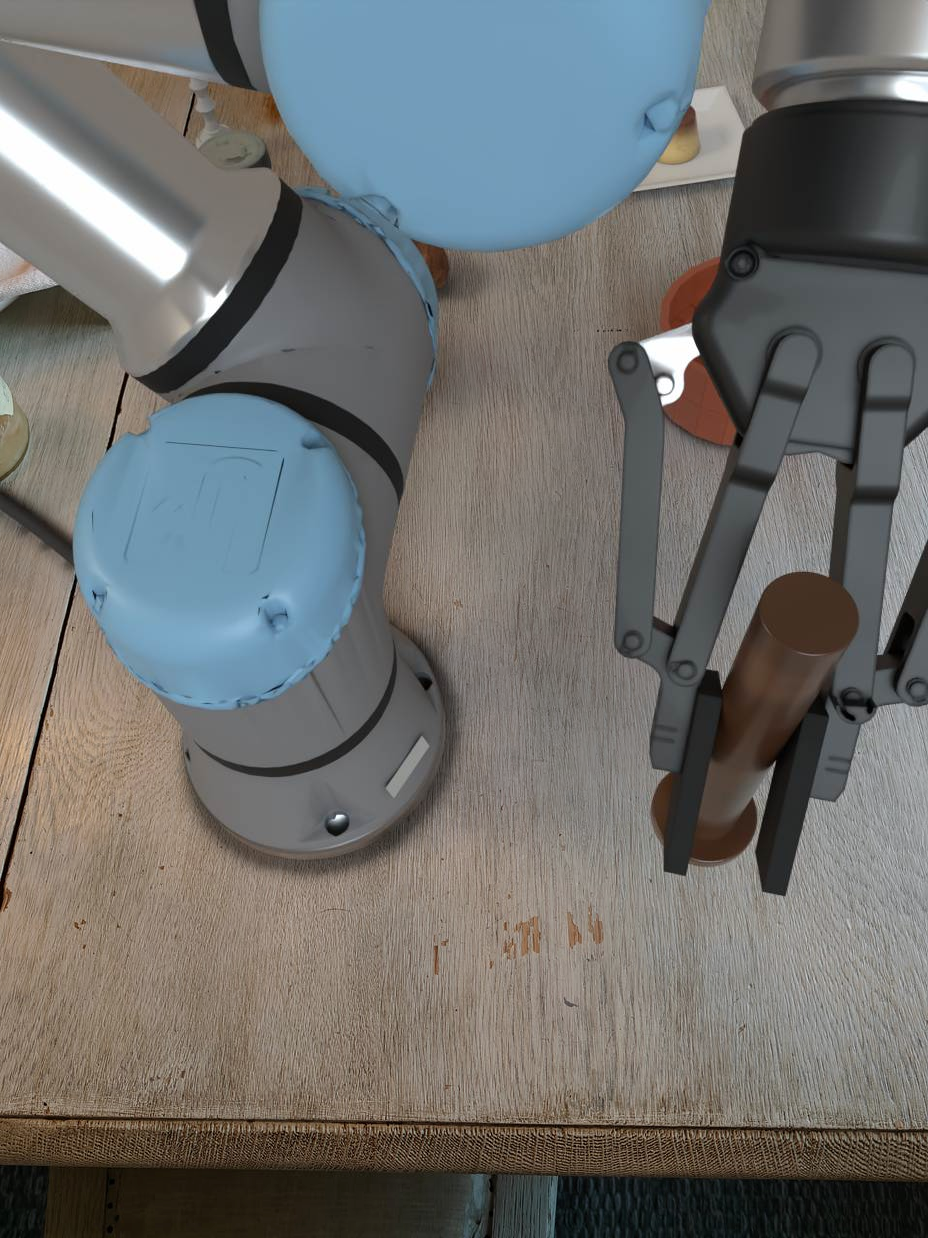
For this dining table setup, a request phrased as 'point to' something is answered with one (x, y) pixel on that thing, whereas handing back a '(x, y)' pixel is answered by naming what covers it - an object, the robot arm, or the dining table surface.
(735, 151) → the dessert
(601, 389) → the dining table surface
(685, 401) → the bowl
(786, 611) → the wooden peg on base
